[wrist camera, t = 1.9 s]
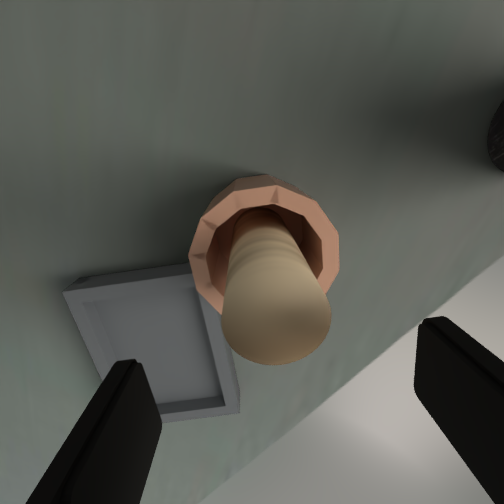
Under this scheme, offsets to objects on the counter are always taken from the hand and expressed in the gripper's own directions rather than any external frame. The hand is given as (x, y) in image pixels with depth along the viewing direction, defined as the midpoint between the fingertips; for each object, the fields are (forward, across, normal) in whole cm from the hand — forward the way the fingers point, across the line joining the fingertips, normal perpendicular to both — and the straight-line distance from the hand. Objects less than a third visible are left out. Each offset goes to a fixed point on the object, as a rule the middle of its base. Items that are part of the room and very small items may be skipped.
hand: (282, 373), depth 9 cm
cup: (+15, 0, -1) cm, 15 cm away
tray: (+15, +10, +9) cm, 20 cm away
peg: (+14, 0, -1) cm, 14 cm away
